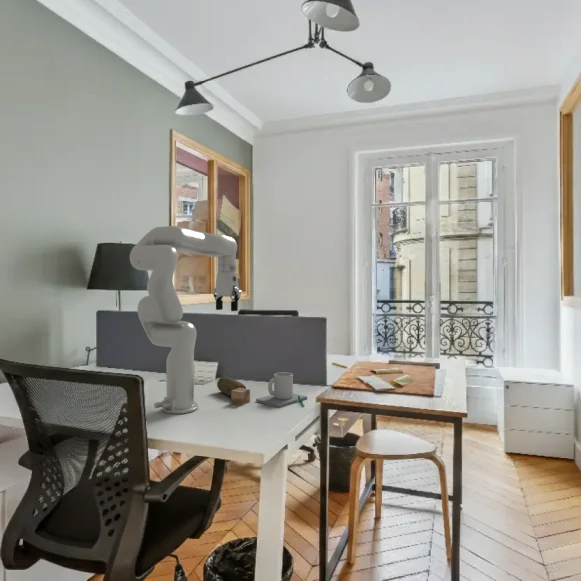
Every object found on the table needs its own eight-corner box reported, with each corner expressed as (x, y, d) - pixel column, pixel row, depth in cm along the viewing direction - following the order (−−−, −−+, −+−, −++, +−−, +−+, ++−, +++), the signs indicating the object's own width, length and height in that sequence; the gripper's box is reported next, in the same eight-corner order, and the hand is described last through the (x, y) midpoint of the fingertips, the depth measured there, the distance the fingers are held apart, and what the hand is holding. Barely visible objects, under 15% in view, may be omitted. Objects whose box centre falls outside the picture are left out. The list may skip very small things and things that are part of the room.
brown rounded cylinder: (213, 393, 187) (213, 377, 186) (228, 390, 191) (228, 374, 191) (234, 401, 175) (234, 383, 175) (249, 397, 180) (249, 381, 180)
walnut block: (242, 405, 169) (242, 392, 169) (231, 403, 171) (231, 390, 171) (250, 402, 173) (250, 389, 173) (238, 400, 176) (238, 387, 175)
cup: (295, 398, 175) (296, 375, 174) (271, 401, 171) (271, 377, 170) (288, 394, 181) (288, 371, 181) (264, 396, 177) (264, 373, 177)
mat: (278, 407, 166) (278, 405, 166) (255, 401, 174) (255, 399, 174) (307, 399, 178) (307, 396, 178) (284, 393, 186) (284, 391, 186)
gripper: (247, 269, 188) (247, 311, 189) (220, 269, 200) (220, 308, 201) (233, 269, 183) (233, 312, 183) (206, 269, 194) (206, 309, 195)
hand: (226, 310), depth 192 cm, fingers open, 9 cm apart
